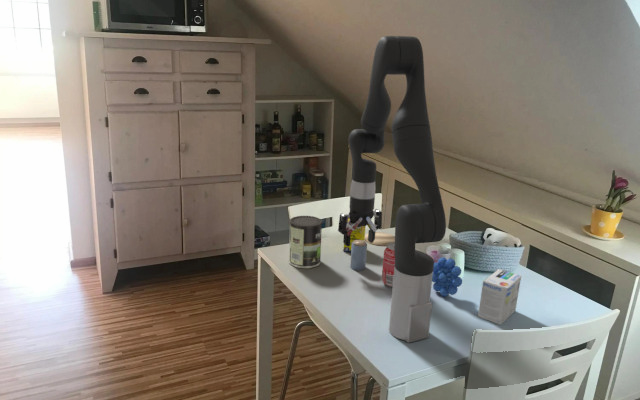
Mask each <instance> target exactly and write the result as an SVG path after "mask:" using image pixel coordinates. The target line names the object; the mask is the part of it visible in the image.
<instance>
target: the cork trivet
mask: <svg viewBox="0 0 640 400" xmlns="http://www.w3.org/2000/svg"><path fill="white" fill-rule="evenodd" d="M364 241H365V242H366V243H367V244H370V245H374V246H381V247H383V246H384V247H385V246H386V247H387V244H389V243H395V235H394V234H391V233H387V232H382V231H379V232H378V231H377V232H375V240H374V241H373V243H370V242H369V241H368V233H365V239H364Z"/></svg>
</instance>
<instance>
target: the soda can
mask: <svg viewBox="0 0 640 400" xmlns="http://www.w3.org/2000/svg"><path fill="white" fill-rule="evenodd" d="M394 247H395V243H389V244H387V246H386V247H385V249H384V251H383V261H382V269H381V271H382V273H381V280H382V284H384V285H386V287H390V288H393V278H394V267H395V254H394Z"/></svg>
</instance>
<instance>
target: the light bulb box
mask: <svg viewBox="0 0 640 400" xmlns="http://www.w3.org/2000/svg"><path fill="white" fill-rule="evenodd" d="M521 281H522V275H520V274H517V273H513V272H512V271H511V272H510V271H507V270H504V269H501V268H497V269H496V270H495V271H494V272H493V273H492V274H491V275H489V276H488V277H487V278H485V279H484V280H483V281H482V285H481V286H482V287H481V292H480V301H479V306H478V307H479V308H478V315H477V316H478V318H481V319H483V320H486V321H489V322H492V323H495V324H497V325H499V326H502V325H503V324H504V322H505V321H507V320H508V319H509V318H510V317H511V315H513V313H515V312H516V310H517V309H516V308H517V304H518V300H519V299H518V298H519V292H520V287H521Z"/></svg>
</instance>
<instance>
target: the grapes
mask: <svg viewBox="0 0 640 400" xmlns="http://www.w3.org/2000/svg"><path fill="white" fill-rule="evenodd" d="M461 274H462V268H461V267H460V266H457V265H456V260H454V259H453V258H448V259H447V258H446V257H439V258H438V260H437V262H434V268H433V277H432V283H433V284H432V289H433V290H434V291H435V292H439V293H440V295H441V297H447V296H449V295H450V296H454V295H456V294H457V293H458V289H459V287H461V286H462V284H463V279H462V278H461V277H460V275H461Z"/></svg>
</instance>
